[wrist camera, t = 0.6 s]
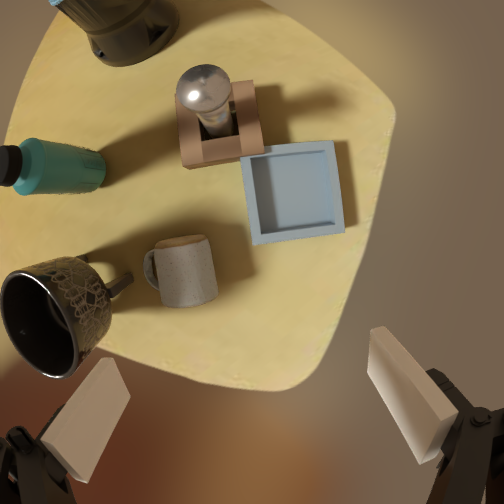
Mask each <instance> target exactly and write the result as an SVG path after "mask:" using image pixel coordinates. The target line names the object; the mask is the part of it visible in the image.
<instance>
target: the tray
mask: <svg viewBox="0 0 504 504" xmlns="http://www.w3.org/2000/svg"><path fill="white" fill-rule="evenodd" d="M264 151H265V154H262V155H255V156H247V157H240V161H241V168H242V175H243V182H244V189H245V196H246V202H247V209H248V216H249V223H250V230H251V237H252V244H253V245H259V244H267V243H274V242H281V241H288V240H295V239H303V238H310V237H317V236H324V235H332V234H339V233H345V226H344V216H343V206H342V198H341V190H340V182H339V175H338V168H337V161H336V155H335V149H334V143H333V140H331V141H315V142H302V143H291V144H281V145H272V146H264Z"/></svg>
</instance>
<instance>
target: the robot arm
mask: <svg viewBox="0 0 504 504" xmlns="http://www.w3.org/2000/svg"><path fill="white" fill-rule="evenodd" d="M49 1H50V4H51V5H53V6H56V7H57V8H58V9H59V10H60V11H62V12H63V13H64V14H65V15H66V16H68V17H69V18H70V19H71V20H72V21H73V22H74V23H76V24H77V25H78V26H79V27H80V28H82V29H83V30H84V31H85V32H86V33H87V36H88V39H89V42H90V45H91V48H92V51H93V53H94V55H95V56H96V57H97V58H98V59H99V60H101V61H102V62H103V63H104V64H106V65H109V66H113V67H123V66H129V65H132V64H135V63H138V62H141V61H143V60H145V59H147V58H149V57H150V56H152V55H153V54H155V53H156V52H158V51H159V50H160V49H161V48H163V47H164V46H165V45H166V44H167V43H168V42H169V40H170V39H171V38H172V36H173V35H174V33H175V32H176V29H177V27H178V23H179V15H178V12H177V10H176V7H175V5H174V4H173V2H172V1H171V0H49ZM367 373H368V375H369V376H370V378H371V380H372V382H373V383H374V385H375V386H376V388H377V390H378V392H379V393H380V395H381V397H382V398H383V400H384V402H385V404H386V405H387V407H388V409H389V411H390V412H391V414H392V416H393V418H394V419H395V421H396V423H397V425H398V426H399V428H400V430H401V432H402V434H403V435H404V437H405V439H406V441H407V443H408V445H409V446H410V448H411V450H412V452H413V454H414V456H415V457H416V459H417V461H418V463H419V464H422V463H424V462H426V461H429V460H431V459H433V458H435V457H436V456H437V454H438V452H439V450H440V449H441V450H442V452H443V453H444V456H443V457H442V459H441V461H440V462H439V464H438V466H437V467H436V468H439V470H438V473H437V476H436V479H435V482H434V485H433V487H432V490H431V493H430V495H429V498H428V500H427V503H426V504H481V501H482V497H483V493H484V489H485V485H486V503H485V504H504V408H502V409H499V410H495V411H492V412H491V411H489V410H488V409H486V408H483V407H475V408H474V407H473V406H472V405H471V403H470V402H469V401H468V400H467V399H466V398H465V397H464V396H463V394H462V393H461V392H460V391H459V390H458V389H457V388H456V387H455V386H454V384H453V383H452V382H451V381H449V379H448V378H447V377H446V376H445V375H444V374H443V373H442V372H440V371H438V370H436V369H434V368H433V369H430V370H428V371H424V370H423V369H422V367H421V366H420V365H419V364H418V363H417V362H416V361H415V359H414V358H413V357H412V356H411V355H410V354H409V353H408V352H407V350H406V349H405V348H404V347H403V346H402V345H401V344H400V343H399V342H398V340H397V339H396V338H395V337H394V336H393V335H392V334H391V333H390V332H389V331H388V329H386V327H385V326H382V327H378V328H373V329H370V346H369V359H368V371H367ZM130 397H131V396H130V394H129V393H128V390H127V388H126V386H125V384H124V382H123V380H122V377H121V375H120V373H119V370H118V368H117V366H116V363H115V361H114V359H113V358H101V360H100V361H99V362H98V363H97V365H96V366H95V367H94V368H93V370H92V371H91V372H90V373H89V375H88V376H87V377H86V379H85V380H84V381H83V382H82V384H81V385H80V386H79V388H78V389H77V390H76V391H75V393H74V394H73V395H72V397H71V398H70V399H69V401H68V402H67V403H66V404H64V405H62V406H61V407H60V408H58V409H57V410H56V412H55V413H54V414H53V417H51V418H50V420H49V422H47V424H46V425H45V426H44V428H43V429H42V431H41V432H40V433H39V435H38V436H37V437H36V439H35V440H34V439H33V438H32V437H31V435H30V434H29V432H28V431H27V430H26V429H25V428H24V427H22V426H15V427H13V428H11V429H10V430H9V431H8V432H7V434H6V437H5V438H6V440H7V441H8V442H9V443H10V445H11V446H10V445H9V444H8V442H7V441H6V440H5V439H4V438H2V437H0V504H77V503H76V500H75V498H74V495H73V492H72V489H71V485H70V482H69V480H68V478H67V477H66V474H67V472H69V474H70V475H71V476H72V477H73V478H74V479H77V480H79V481H82V482H85V483H88V481H89V479H90V477H91V475H92V473H93V470H94V468H95V466H96V464H97V462H98V460H99V458H100V456H101V454H102V452H103V450H104V448H105V446H106V444H107V442H108V440H109V438H110V436H111V434H112V432H113V430H114V428H115V426H116V424H117V422H118V420H119V418H120V416H121V414H122V412H123V410H124V409H125V406H126V404H127V402H128V401H129V399H130ZM8 474H10V475H11V476H12V477H13V478H14V482H12V481H11V480H10V479H8Z"/></svg>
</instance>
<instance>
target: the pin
mask: <svg viewBox="0 0 504 504" xmlns="http://www.w3.org/2000/svg"><path fill="white" fill-rule="evenodd" d="M176 93H177V97H178V99H179V101H180V102H181V104H182V105H183V106H184V107H185V108H186V109H187V110H189V111H191V112H193V113H196V115H197V116H198V118H199V119H200V121H201V122H202V124H203V125H204V127H205V128H206V130H207V131H208V133H209V134H210V136H211V137H212V138H214V139H218V138H224V137H230V136H231V135H232V134H233V131H234V124H233V120H232V116H231V112H230V108H229V104H228V98H229V96H230V93H231V85H230V80H229V77H228V75H227V73H226V72H225V71H224V70H223V69H221V68H220V67H217V66H215V65H209V64H203V65H198V66H195V67H193V68H191V69H189V70H188V71H186V72H185V73H184V74H183V75H182V76H181V78H180V79H179V81H178V83H177V88H176Z"/></svg>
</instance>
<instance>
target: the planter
mask: <svg viewBox="0 0 504 504" xmlns="http://www.w3.org/2000/svg"><path fill="white" fill-rule="evenodd" d="M87 260H88V259H87V258H86V256H85V255H84V254H83V255H79V256H76V257H60V258H56V259H53V260H49V261H46V262H42V263H39V264H36V265H32V266H29V267H25V268H22V269H19V270H16V271H14V272H12V273H10V274H9V275H8V276H7V277H6V279H5V280H4V282H3V285H2V287H1V293H0V309H1V315H2V319H3V323H4V326H5V329H6V331H7V333H8V336H9V338H10V340H11V341H12V343H13V345H14V347H15V348H16V350H17V351H18V352H19V354H20V355H21V356H22V358H23V359H24V360H25V361H26V362H27V363H28V364H29V365H30V366H31V367H32V368H34V369H35V370H36V371H38V372H39V373H41V374H43V375H45V376H47V377H49V378H52V379H65V378H68V377H70V376H71V375H72V374H74V372H75V371H76V370H77V368H78V367H79V366H80V365H81V364H82V362H83V361H84V360H85V359H86V357H87V356H88V355H89V354H90V353H91V351H92V350H93V349H94V348H95V347H96V345H97V344H98V343H99V342H100V341H101V339H102V338H103V337H104V336H105V335H106V333H107V332H108V330H109V327H110V324H111V320H112V304H111V299H110V298H114V297H115V296H116V295H117V294H119V293H120V292H121V291H122V290H123V289H125V288H126V287H127V286H128V285H130V284H131V283H132V282H133V281H134V279H133V276H132V273H128V274H125V275H123V276H121V277H119V278H118V279H115V280H113V281H111V282H109V283H106V284H104V282H103V280H102V279H101V277H100V276H99V274H98V273H97V272H96V271H95V270H94V269H93V268H92V267H91V266H90V265H89V264H87V263H86V261H87Z"/></svg>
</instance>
